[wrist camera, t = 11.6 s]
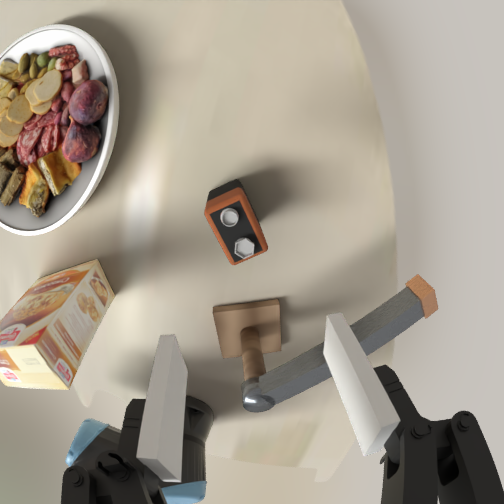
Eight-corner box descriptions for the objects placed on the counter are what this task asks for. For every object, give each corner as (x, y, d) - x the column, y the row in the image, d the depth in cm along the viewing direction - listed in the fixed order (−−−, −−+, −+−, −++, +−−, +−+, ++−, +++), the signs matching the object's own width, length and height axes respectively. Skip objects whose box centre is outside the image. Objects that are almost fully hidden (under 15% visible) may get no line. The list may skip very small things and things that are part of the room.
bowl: (1, 236, 33) (-25, 255, 26) (-19, 80, 21) (-47, 80, 13) (143, 205, 35) (124, 225, 28) (125, 4, 22) (105, -18, 15)
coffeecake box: (98, 257, 37) (33, 344, 19) (117, 296, 40) (72, 392, 22) (36, 277, 37) (-25, 349, 19) (54, 311, 40) (6, 388, 22)
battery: (229, 236, 38) (232, 272, 28) (207, 191, 35) (201, 214, 26) (259, 223, 37) (271, 254, 28) (238, 177, 34) (243, 194, 25)
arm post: (222, 352, 46) (224, 407, 35) (213, 307, 42) (211, 364, 31) (279, 345, 47) (293, 398, 36) (277, 298, 42) (294, 353, 32)
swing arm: (235, 383, 33) (236, 405, 30) (417, 273, 29) (434, 288, 25) (252, 396, 35) (255, 417, 31) (423, 294, 30) (438, 309, 27)
